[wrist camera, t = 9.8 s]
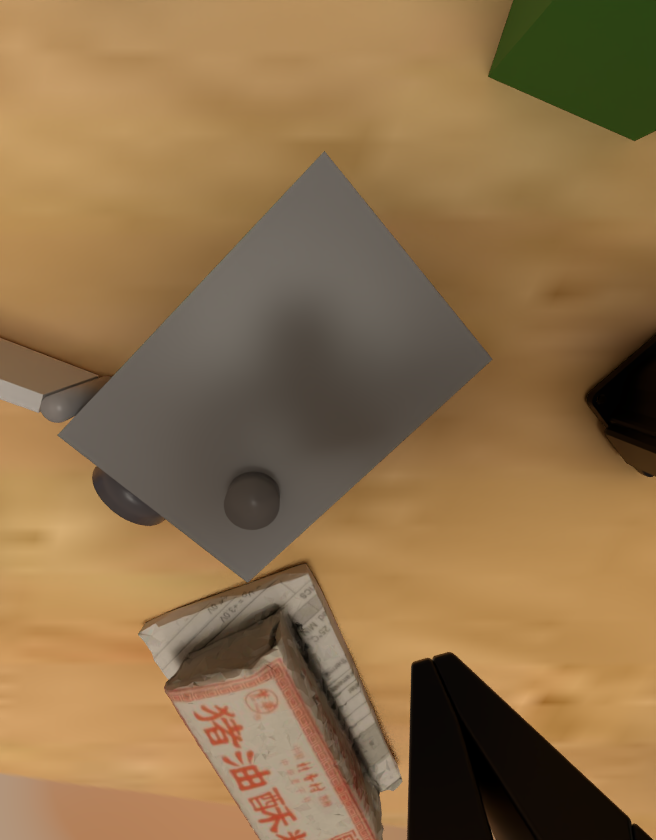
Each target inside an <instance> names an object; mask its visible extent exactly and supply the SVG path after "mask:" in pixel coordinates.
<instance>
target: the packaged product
mask: <svg viewBox="0 0 656 840" xmlns="http://www.w3.org/2000/svg"><path fill="white" fill-rule="evenodd" d="M138 635H139V636H140V637H141V639H142V640H143V641H144V642H145V643H146V645H147V646H148V648H149V649H150V651H151V652H152V655H153V658H154V661H155V662H156V663H157V665H158V666H159V668H160V669H161V670H162V672H163V673H164V675H165V676H166V677H167V678H168V679H169V680H168V681H167V682H166V684H165V687H164V689H165V693H166V694H167V695H168V697H169V698H170V699H171V701H172V703H173V705H174V707H175V708H176V710H177V712H178V714H179V715H180V717H181V719H182V720H183V722H184V723H185V725H186V726H187V728H188V729H189V731H190V732H191V734H192V735H193V737H194V738H195V740H196V742H197V744H198V746H199V747H200V748H201V750H202V751H203V753H204V754H205V756H206V757H207V759H208V760H209V762H210V763H211V765H212V766H213V768H214V769H215V771H216V773H217V774H218V776H219V777H220V779H221V780H222V782H223V783H224V785H225V786H226V788H227V790H228V791H229V793H230V794H231V796H232V797H233V799H234V801H235V802H236V804H237V805H238V807H239V808H240V810H241V811H242V813H243V814H244V816H245V817H246V818H247V820H248V822H249V824H250V826H251V827H252V828H253V829H254V832H255V834H256V835H257V836H258V838H259V839H260V840H383V838H382V833H383V826H382V823H381V816H382V813H381V802H380V797H379V793H380V792H382V791H385V790H392V791H394V790H395V789H396V788H397V787H398V786H399V785H400V784H401V782H402V778H401V775H400V772H399V768H398V765H397V763H396V761H395V759H394V757H393V755H392V753H391V751H390V749H389V747H388V745H387V743H386V741H385V739H384V736H383V734H382V731H381V728H380V726H379V723H378V720H377V718H376V715H375V712H374V709H373V707H372V704H371V702H370V700H369V698H368V695H367V693H366V691H365V688H364V686H363V683H362V681H361V678H360V676H359V673H358V671H357V668H356V666H355V664H354V661H353V659H352V657H351V654H350V652H349V650H348V648H347V645H346V643H345V641H344V639H343V636H342V634H341V632H340V630H339V627H338V625H337V623H336V621H335V619H334V617H333V615H332V612H331V610H330V608H329V606H328V604H327V602H326V599H325V597H324V595H323V593H322V591H321V589H320V587H319V585H318V583H317V581H316V580H315V578H314V576H313V574H312V572H311V571H310V569H309V567H308V566H307V564H302V565H298V566H295V567H292V568H290V569H287V570H284V571H281V572H278V573H276V574H273V575H270V576H267V577H265V578H262V579H259V580H256V581H254V582H251V583H248V584H246V585H243V586H240V587H237V588H234V589H231V590H228V591H225V592H222V593H220V594H217V595H214V596H211V597H209V598H206V599H203V600H200V601H198V602H195V603H192V604H189V605H187V606H184V607H181V608H178V609H176V610H173V611H170V612H167V613H165V614H163V615H161V616H159V617H157V618H155V619H153V620H151V621H148V622H146V623H145V625H144V626H143V627H142V629H141V630H140V632H139V633H138Z"/></svg>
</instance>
